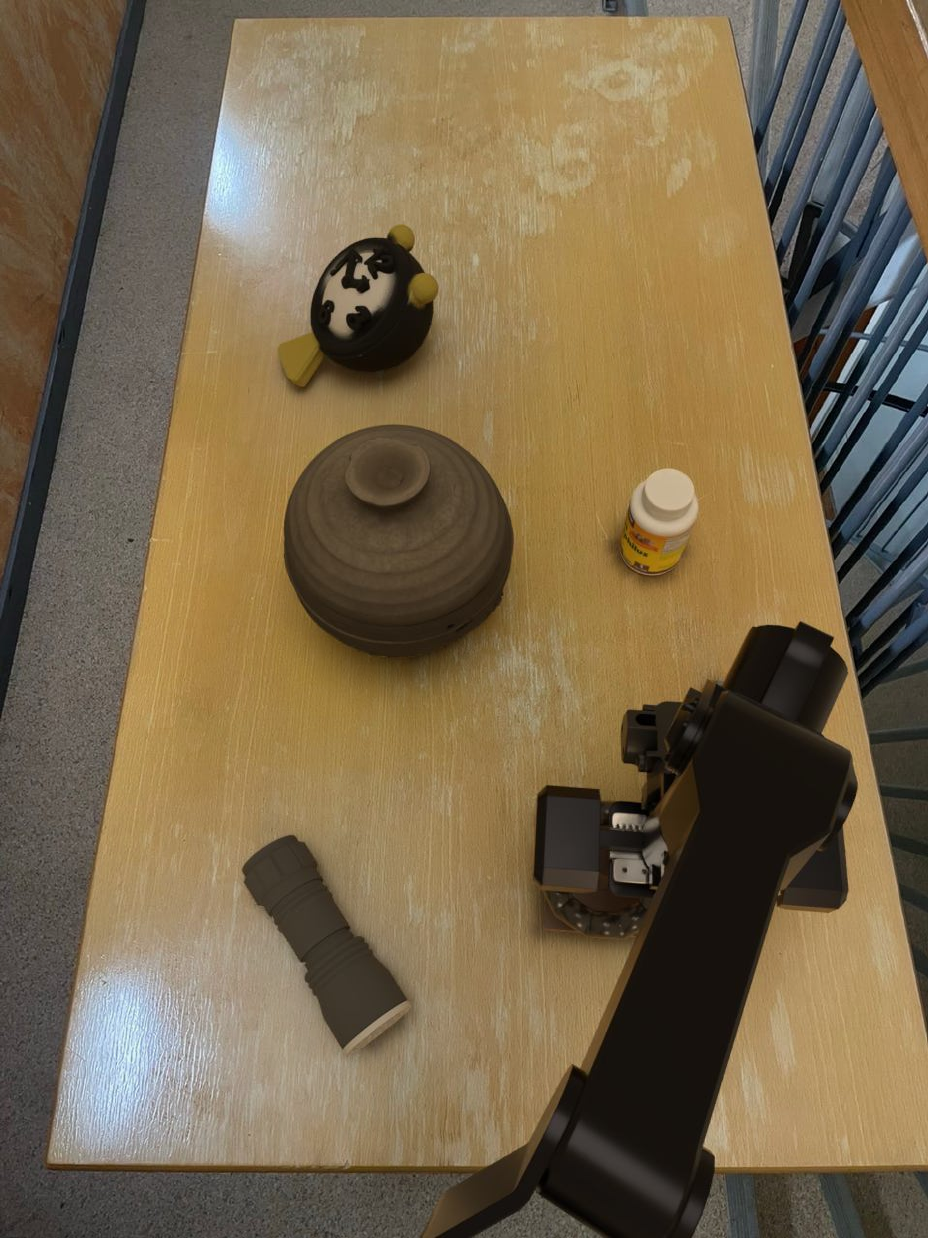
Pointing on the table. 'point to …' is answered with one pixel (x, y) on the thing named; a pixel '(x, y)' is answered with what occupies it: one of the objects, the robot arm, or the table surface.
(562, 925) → the rack
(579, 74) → the table surface
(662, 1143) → the robot arm
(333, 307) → the alarm clock
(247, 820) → the table surface
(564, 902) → the studded brown bangle
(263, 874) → the flashlight
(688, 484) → the supplement bottle
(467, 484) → the pot
